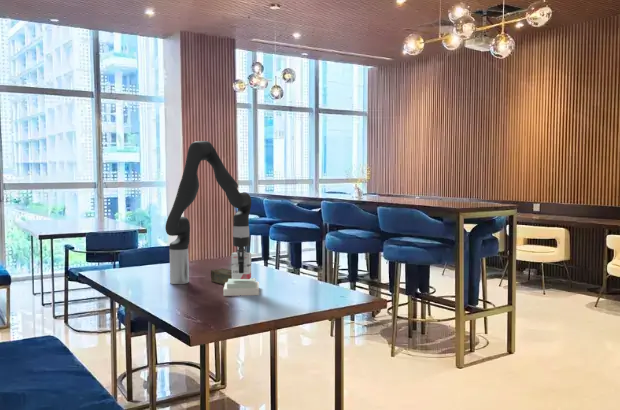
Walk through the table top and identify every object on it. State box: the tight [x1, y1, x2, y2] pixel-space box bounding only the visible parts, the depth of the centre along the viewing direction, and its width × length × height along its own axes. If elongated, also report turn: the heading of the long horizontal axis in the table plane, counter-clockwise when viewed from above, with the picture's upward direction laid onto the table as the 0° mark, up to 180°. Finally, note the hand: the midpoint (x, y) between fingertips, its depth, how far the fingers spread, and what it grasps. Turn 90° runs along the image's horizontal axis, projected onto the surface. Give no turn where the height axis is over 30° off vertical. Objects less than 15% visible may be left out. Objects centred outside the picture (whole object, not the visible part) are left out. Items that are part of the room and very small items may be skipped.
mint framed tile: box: [222, 277, 260, 297], centre depth 260 cm, size 16×16×5 cm
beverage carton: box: [210, 267, 232, 286], centre depth 281 cm, size 8×19×7 cm, turn 44°
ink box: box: [230, 252, 252, 279], centre depth 260 cm, size 9×5×12 cm, turn 84°
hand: (241, 271), depth 260 cm, fingers closed on ink box, 5 cm apart
